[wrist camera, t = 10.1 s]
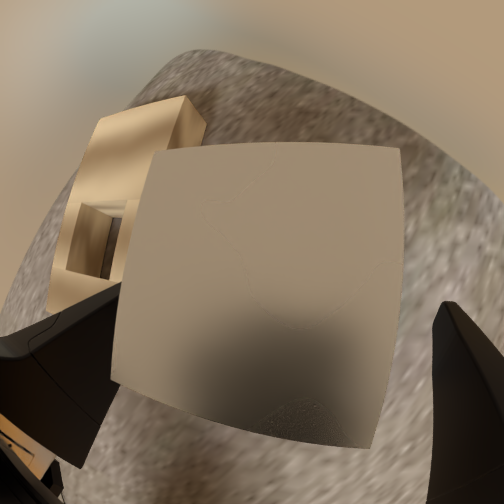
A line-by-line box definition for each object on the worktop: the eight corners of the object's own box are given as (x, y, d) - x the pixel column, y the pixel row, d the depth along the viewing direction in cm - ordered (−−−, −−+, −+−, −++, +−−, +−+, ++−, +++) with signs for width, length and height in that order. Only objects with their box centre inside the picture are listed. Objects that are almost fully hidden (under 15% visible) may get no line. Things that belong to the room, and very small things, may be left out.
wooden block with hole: (161, 343, 19) (125, 346, 15) (79, 314, 22) (46, 310, 18) (206, 124, 22) (185, 95, 18) (123, 138, 25) (99, 119, 21)
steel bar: (343, 345, 15) (369, 448, 3) (275, 336, 16) (110, 379, 4) (352, 276, 15) (399, 147, 3) (285, 270, 17) (154, 151, 5)
